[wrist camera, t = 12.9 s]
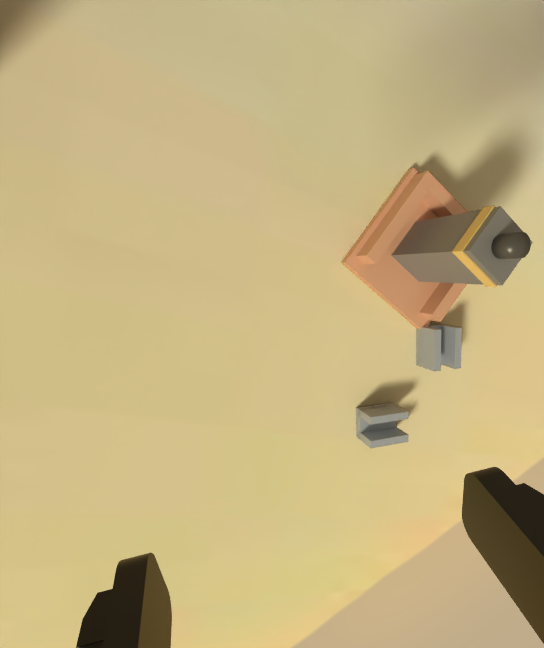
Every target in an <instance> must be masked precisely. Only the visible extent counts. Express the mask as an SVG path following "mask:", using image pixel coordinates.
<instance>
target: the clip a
mask: <svg viewBox="0 0 544 648" xmlns="http://www.w3.org/2000/svg"><path fill="white" fill-rule="evenodd" d="M403 419H408V411H406V410H405V409H403V408H401V407H399V406H398V405H396V404H394V403H385V404H378V405H372V406H365V407H358V408H356V426H357V437H358V438H359V439H360V440H361V441H363V442H364V443H365V444H366V445H367V446H369V447H370V448H375V447H381V446H387V445H392V444H398V443H404V442H408V434H406V433H405V432H403V431H402V430H400V429H399V428H397V420H403Z"/></svg>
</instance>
